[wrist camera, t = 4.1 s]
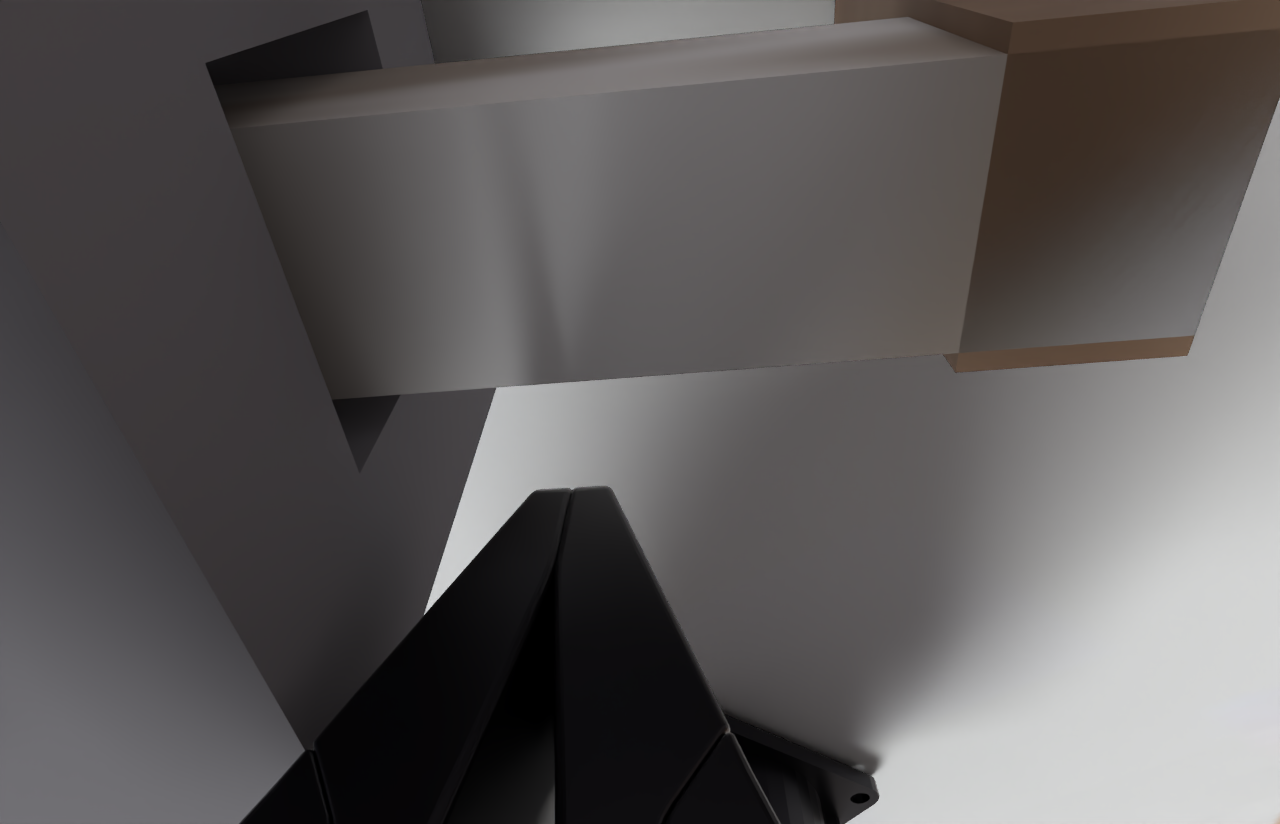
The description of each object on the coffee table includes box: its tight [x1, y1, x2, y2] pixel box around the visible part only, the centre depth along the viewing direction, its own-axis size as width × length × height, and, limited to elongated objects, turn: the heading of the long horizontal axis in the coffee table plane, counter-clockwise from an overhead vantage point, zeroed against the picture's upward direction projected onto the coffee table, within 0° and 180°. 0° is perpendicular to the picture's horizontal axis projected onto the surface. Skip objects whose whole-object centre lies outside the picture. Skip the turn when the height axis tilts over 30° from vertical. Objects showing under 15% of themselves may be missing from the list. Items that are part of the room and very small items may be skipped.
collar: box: [0, 0, 496, 824], centre depth 7 cm, size 3×8×8 cm, turn 5°
